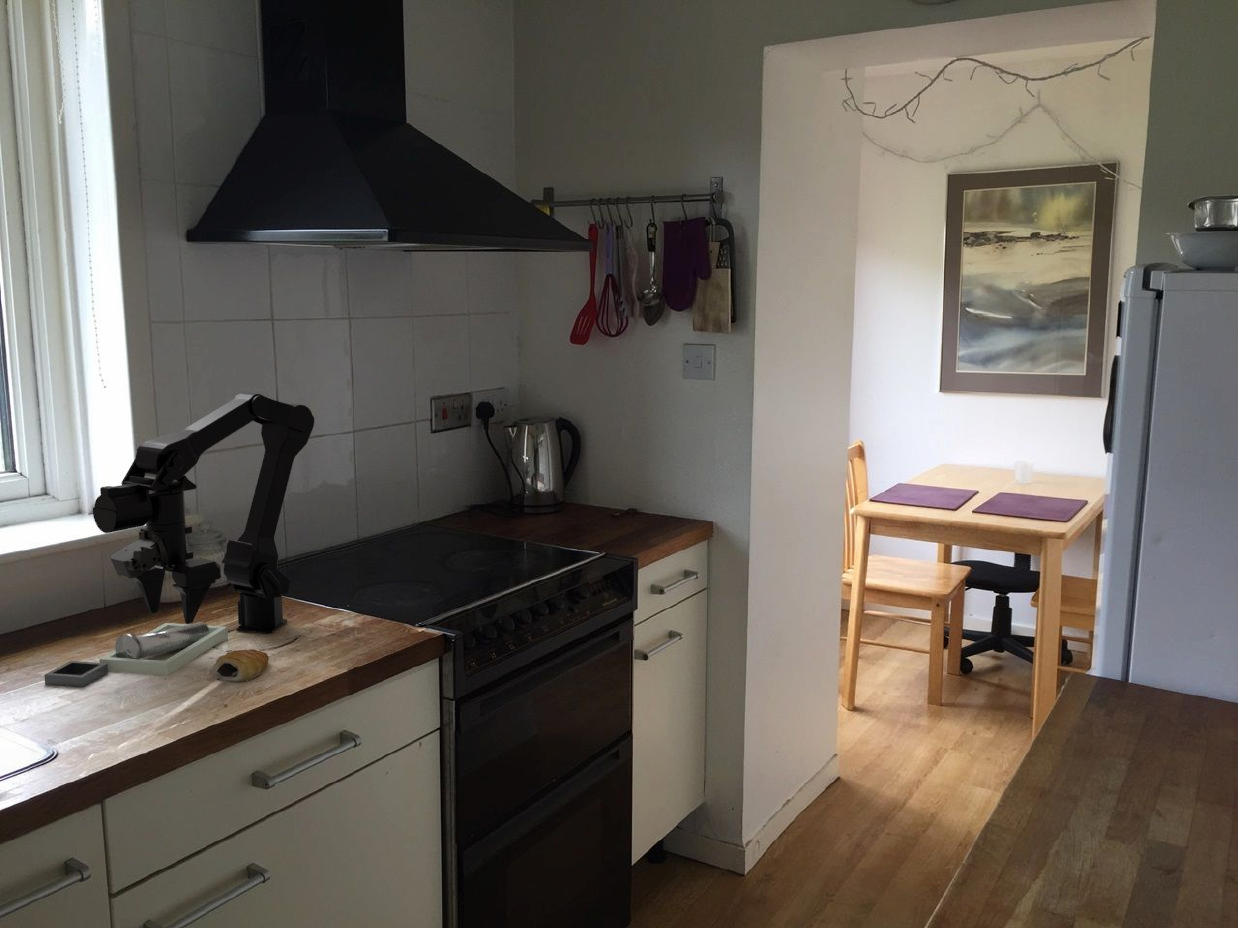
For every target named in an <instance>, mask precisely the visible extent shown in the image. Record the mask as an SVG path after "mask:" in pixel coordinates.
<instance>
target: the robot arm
mask: <svg viewBox="0 0 1238 928" xmlns="http://www.w3.org/2000/svg"><path fill="white" fill-rule="evenodd" d="M252 422H253V423H256V424H259V425H261V432H260V434H261V435H260V436H261V438H262V442H263V446H264V455H263V459H262V462H261V466H260V470H259V474H258V479H257V482H256V486H255V489H254V494H253V496H252V500H251V505H250V508H249V513H248V517H247V519H246V525H245V528H244V530H243V533H242V534H241V535H240V536H239V538H238V539H237V540H235V539H234V540H233V539H229V540H228V542H227V544H226V551H225V555H224V558H222V560H221V564H223V575H224V576H225V577H226V580H227V581H228V582H230V585H231V588H232V590H233V592H235V593H238V592H239V600H238V601H237V616H238V617H237V621H238V625H239V626H237V627H235V629H236V631H237V632H246V633H247V632H248V633H263V634H264V633H265V634H271V633H274V632H275V631H277V630H278V629H280V628H281V627H283V626H284V625H285V624H287V623H288V619H286V618H284V613H283V612H284V609H283V595H286V594H288V592H289V589H290V585H291V581H290V580H289V578H287V576H285V575H284V574H283V573H282V572H281V571H279V569H278V562H279V554H278V550H277V549H278V548H277V546H276V542H275V536H276V532H277V527H278V524H279V519H280V516H281V512H282V507H283V505H284V501H285V496H286V492H287V488H288V486H289V485H288V484H289V481H290V477H291V473H292V469H293V465H294V461H295V458H296V456H297V455H298V454H299V453H300V452H301V451H302V449H303V448H304V447H305V446H306V445H307V444H308V442H309V439H310V437H311V434H312V432H313V430H314V426H315V416H314V415H313V413H312V411H311V409H310V408H309V407H308V406H307V405H304V404H297V403H296V404H295V403H288V402H287V403H286V402H282V401H278V400H275V399H273V398H269V397H267V396H266V395H264V394H261V393H253V392H241V393H238V394H236V396H234V398H233V399H231V400H229V401H228V402H227V403H225V404H223V405H222V406H220V407H218V408H216V409H215V410H213V411H212V412H210V413H208V414H207V415H205V416H204V417H201V418H200V419H199V420H197V421H195V422H194V423H192V424H190V425H188V426H187V427H185V428H184V429H181V430H178V431H175V432H170V433H166V434H165V433H164V434H162V435H158V436H157V437H154V438H151V439H148V440H145V441H144V442H142V443H141V444H140V445H139V446H138V447H137V449H136V454H135V458H134V460H133V461H132V463H131V465H130V467H129V469H128V471H127V472H126V474H125V476H124V477H123V478H122V481H121V485H115V486H111V485H107V486H101V487H100V491H99V492H100V495H99V496H97V498H96V499H95V501H94V505H93V507H92V514H93V515H92V516H93V519H94V522H95V525H96V527H97V528H98V529H99V530H100V531H101V532H103V533H104V534H110V533H115V532H119V531H125V530H129V529H135V528H140V530H139V531H138V540H137V541H134V542H132V543H129V544H127V545H126V546H125V547H122V548H121V549H119V550H118V551H116V552H114V553H112V554H111V555H110V557H109V559H110V561H111V563H112V566H113V567H114V570H115V572H116V574H117V576H119V577H121V576H122V577H126V578H128V579H130V580H134V581H135V582H136V584H137V585H138V587H139V590H140V592H141V594H142V596H143V599H144V602H145V605H146V607H147V609H148V611H149V613H150V614H156V613H158V610H159V608H160V604H161V596H162V592H163V585H164V580H165V574H166V572H170V573H171V578H172V580H173V582H174V584H172V587H173V588H174V589H175V590H177V591H178V593H179V594H180V599H181V600H180V601H181V605H182V606H181V607H182V613H183V617H184V622H185V623H184V624H193V623H194V621H195V619H196V616H197V615H198V611H199V609H200V607H201V605H202V602H203V600H204V598H205V596H206V595H207V593H208V591H209V590H210V587H211V586H212V585H213V584H216V581H217V580H220V579H221V578H222V575H221V574H222V571H221V569H222V568H221V565H220V564H219V563H218V562H216V561H215V560H210V559H207V558H202V557H200V558H196V559H194V551H191V550H188V543H187V542H188V540H187V534H193V527H192V525H191V526H190V525H187V524H186V523H187V522H186V520H187V519H186V505H185V502H186V501H185V492H187V491H188V492H189V491H193V490H196V489H197V484H195V483H194V482H193V481H191V480H189V478H188V477H187V476H186V475H187V473H188V472H190V471H191V470H192V469H193V468H194V467H195V466H196V465H197V464H198V462H199V460H200V457H201V456H202V455H203V454H204V453H205V452H206V451H207V450H209V449H211V448H212V447H214V446H215V445H217V444H219V443H220V442H222V441H224V440H225V439H227V438H228V437H230V436H232V435H233V434H234V433H236V432H238V431H239V430H240V429H242V428H244V427H245V426H248V425H249V424H250V423H252ZM145 476H146V477H145ZM143 526H145V527H143ZM141 527H142V528H141ZM191 559H193V560H191ZM187 560H188V561H187Z"/></svg>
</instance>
